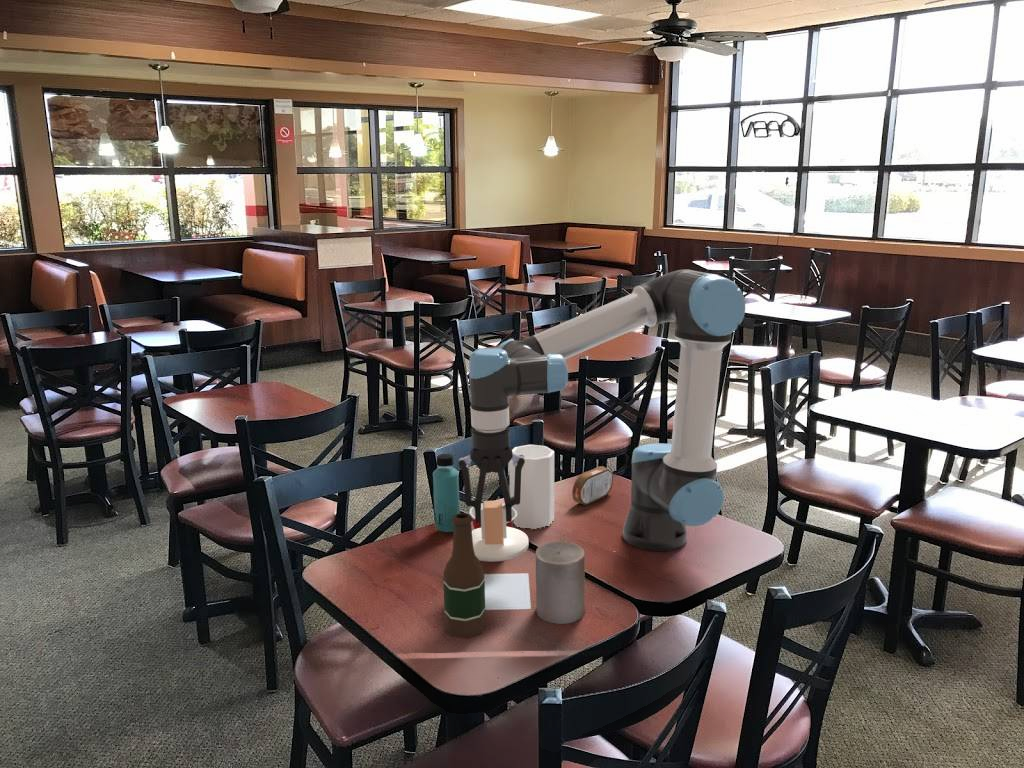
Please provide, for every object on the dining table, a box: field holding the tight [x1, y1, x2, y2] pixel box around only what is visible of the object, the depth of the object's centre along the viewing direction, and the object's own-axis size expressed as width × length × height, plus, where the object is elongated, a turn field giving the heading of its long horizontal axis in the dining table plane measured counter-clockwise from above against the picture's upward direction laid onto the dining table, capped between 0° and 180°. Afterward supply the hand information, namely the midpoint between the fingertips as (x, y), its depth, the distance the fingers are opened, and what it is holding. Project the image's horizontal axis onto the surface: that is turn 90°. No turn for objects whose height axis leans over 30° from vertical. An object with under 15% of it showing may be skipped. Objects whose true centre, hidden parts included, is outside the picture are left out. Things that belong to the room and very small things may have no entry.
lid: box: [472, 500, 530, 563], centre depth 167 cm, size 14×14×9 cm
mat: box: [484, 572, 532, 611], centre depth 171 cm, size 15×15×1 cm
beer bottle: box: [442, 512, 486, 640], centre depth 154 cm, size 8×8×24 cm
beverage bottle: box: [432, 453, 461, 533], centre depth 198 cm, size 6×7×20 cm
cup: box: [508, 444, 555, 530], centre depth 205 cm, size 11×11×18 cm
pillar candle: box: [535, 541, 586, 625], centre depth 161 cm, size 10×10×15 cm
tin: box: [571, 465, 614, 506], centre depth 219 cm, size 15×3×8 cm, turn 136°
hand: (494, 535), depth 168 cm, fingers closed on lid, 4 cm apart
